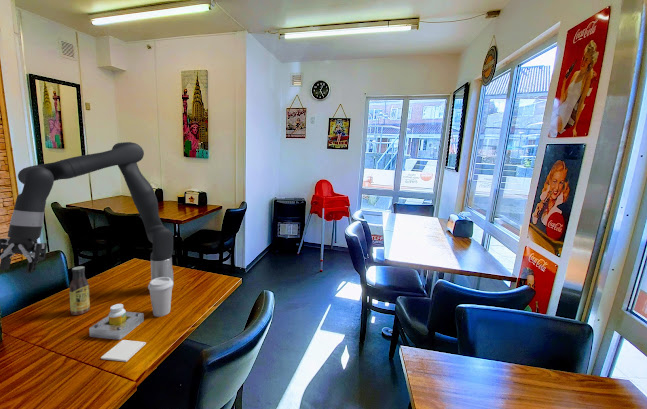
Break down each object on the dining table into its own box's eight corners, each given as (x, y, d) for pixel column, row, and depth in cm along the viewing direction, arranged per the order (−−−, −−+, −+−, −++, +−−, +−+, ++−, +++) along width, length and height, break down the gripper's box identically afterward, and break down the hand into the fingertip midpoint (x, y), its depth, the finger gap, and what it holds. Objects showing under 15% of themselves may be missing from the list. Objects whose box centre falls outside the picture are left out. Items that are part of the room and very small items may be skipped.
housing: (116, 318, 111) (116, 309, 110) (143, 321, 110) (143, 312, 110) (89, 336, 99) (89, 327, 99) (120, 339, 99) (119, 330, 98)
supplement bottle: (111, 326, 106) (110, 304, 104) (128, 323, 108) (126, 301, 107) (107, 334, 101) (106, 311, 100) (125, 331, 104) (123, 308, 102)
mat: (122, 341, 98) (122, 339, 98) (145, 343, 97) (145, 342, 97) (101, 358, 89) (100, 357, 89) (126, 361, 89) (126, 360, 88)
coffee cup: (179, 310, 119) (178, 279, 117) (158, 321, 111) (157, 287, 108) (165, 304, 123) (164, 274, 121) (144, 314, 115) (142, 282, 112)
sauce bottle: (78, 317, 110) (74, 272, 107) (66, 314, 111) (62, 270, 108) (94, 308, 117) (91, 266, 113) (83, 306, 118) (79, 264, 115)
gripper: (58, 226, 95) (49, 271, 94) (17, 221, 94) (8, 266, 93) (36, 227, 87) (26, 276, 86) (-8, 221, 87) (-19, 270, 86)
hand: (17, 271), depth 90 cm, fingers open, 8 cm apart
